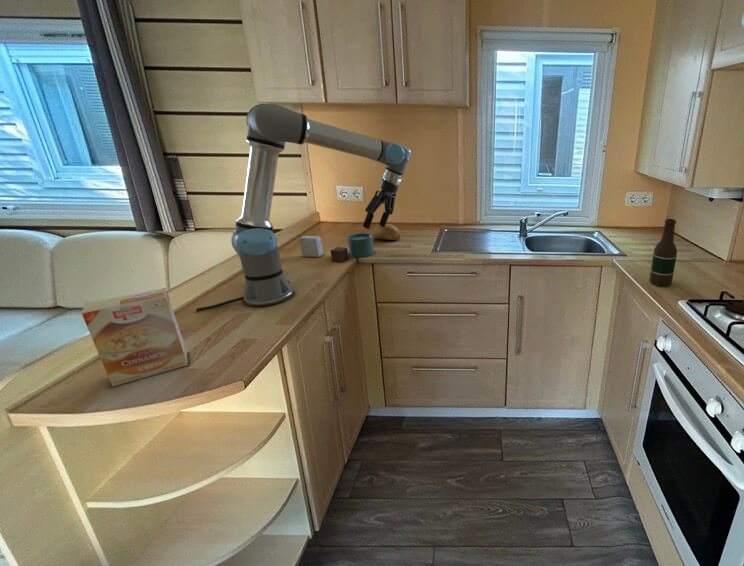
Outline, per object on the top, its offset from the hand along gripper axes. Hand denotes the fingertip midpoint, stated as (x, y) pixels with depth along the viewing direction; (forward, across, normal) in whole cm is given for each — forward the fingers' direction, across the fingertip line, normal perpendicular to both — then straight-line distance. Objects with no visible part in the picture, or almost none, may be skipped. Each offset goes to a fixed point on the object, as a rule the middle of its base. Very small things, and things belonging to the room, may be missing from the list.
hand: (373, 227), depth 177 cm
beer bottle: (-32, -1, -115) cm, 119 cm away
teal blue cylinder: (+15, +5, +3) cm, 16 cm away
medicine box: (+25, -3, +22) cm, 33 cm away
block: (+14, -6, +9) cm, 18 cm away
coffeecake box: (+34, -88, -1) cm, 95 cm away
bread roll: (+11, +28, +4) cm, 30 cm away
